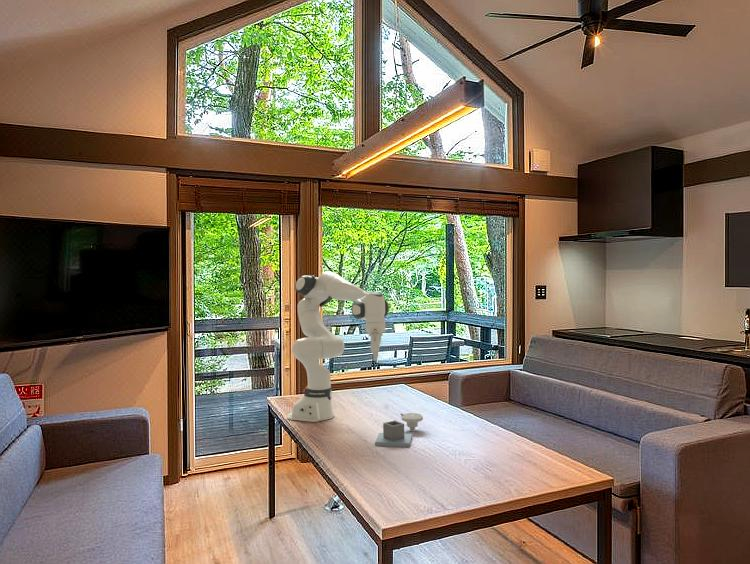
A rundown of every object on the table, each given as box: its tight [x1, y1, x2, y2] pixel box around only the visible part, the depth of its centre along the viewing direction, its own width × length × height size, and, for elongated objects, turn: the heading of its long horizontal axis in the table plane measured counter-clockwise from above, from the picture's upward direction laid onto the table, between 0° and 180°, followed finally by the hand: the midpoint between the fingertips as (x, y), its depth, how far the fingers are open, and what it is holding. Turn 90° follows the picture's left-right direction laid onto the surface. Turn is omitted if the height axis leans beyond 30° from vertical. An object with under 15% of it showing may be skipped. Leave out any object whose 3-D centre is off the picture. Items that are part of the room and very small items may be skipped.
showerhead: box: [399, 412, 424, 432], centre depth 231 cm, size 9×7×10 cm
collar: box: [382, 420, 405, 441], centre depth 216 cm, size 6×6×6 cm
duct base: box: [374, 432, 413, 448], centre depth 216 cm, size 14×12×6 cm
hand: (375, 358), depth 235 cm, fingers open, 8 cm apart
